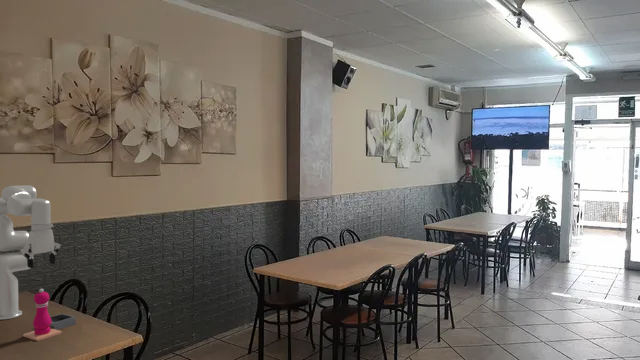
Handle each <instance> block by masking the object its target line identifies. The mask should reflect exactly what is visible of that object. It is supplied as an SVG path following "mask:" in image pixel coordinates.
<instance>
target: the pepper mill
mask: <svg viewBox="0 0 640 360" xmlns="http://www.w3.org/2000/svg"><path fill="white" fill-rule="evenodd" d="M38 291H39V292H37V293H35V294H34V296H33V301H34V302H35V307H36V313H35V317H34V319H33V322H32V327H33V328H34V330H33V331H34V332H35V334H36V335H43V334H47V333H49V332H50V327H49V326H50V325H51V318H50V317H51V316H50V314H49V310H48V306H49V300H50V295H49V293H48V292H46V291H44V288H40V289H38Z"/></svg>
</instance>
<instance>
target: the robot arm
mask: <svg viewBox="0 0 640 360" xmlns="http://www.w3.org/2000/svg"><path fill="white" fill-rule="evenodd" d="M0 195H1V197H0V252H6V253H2V254H0V321H2V320H10V319H14V318H17V317H20V316H22V315H23V311H22V310H20V309H19V279H18V278H17V277H16V275H14V274H13V273H15V272H20V271H26V270H30V269H33V268H34V256H35V255H38V254H45V253H49V257H48V258H49V259H48V261H49V264H51V265H55V263H56V255H57V253H58V252H59V251H60V248H61V246H62V245H61V244H60V243H57V242H55V238H54V237H55V236H54V232H53V229H52V227H54V224H53V223H52V222H51V221H52V219H51V217H52V215H51V211H52V210H51V209H52V208H51V207H52V206H51V205H52V204H51V202H50V200H47V199H44V198H42V197H41V198H37V196H38V195H37V189H36V188H35V187H34V185H30V184H26V185H24V184H23V185H10V186H6V187H4V188H3V189H2V191H1V194H0ZM11 214H12V215H13V216H15V217H23V216H28V217H29V216H31V218H30V219H31V220H30V223H31V230H30V231H28V230H14V223H13V221H12V219H11V218H10V217H9V216H8V215H11ZM16 250H19V251H18V252H17V251H16ZM8 251H9V253H7V252H8ZM10 251H16V252H10Z"/></svg>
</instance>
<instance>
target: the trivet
mask: <svg viewBox="0 0 640 360" xmlns="http://www.w3.org/2000/svg"><path fill="white" fill-rule="evenodd" d="M61 334H63V331H62V330H60V329H58V330H56V329H52V328H50V332H49V333H47V334H43V335H36V334H35V332H34V330H33V331H29V332H26V333H24V334H23V338H27V339H29V340H33V341H36V342H39V341H43V340H45V339H50V338H52V337H55V336H58V335H61Z"/></svg>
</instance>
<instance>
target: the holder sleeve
mask: <svg viewBox="0 0 640 360" xmlns="http://www.w3.org/2000/svg"><path fill="white" fill-rule="evenodd" d="M76 317H77V316H74V315H70V314H66V313H59V314H55V315H52V316H50V318H51V325H50V326H49V327H50V328H52V329H56V330H62V329H64V328H68V327H70V326H74V325H76V324H77V322H76V321H77V318H76Z"/></svg>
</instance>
